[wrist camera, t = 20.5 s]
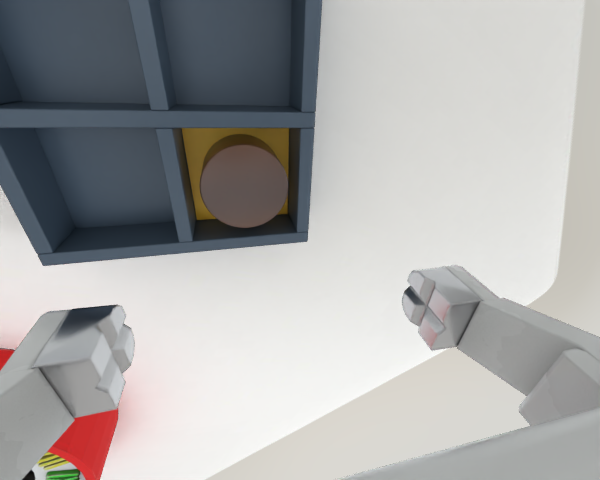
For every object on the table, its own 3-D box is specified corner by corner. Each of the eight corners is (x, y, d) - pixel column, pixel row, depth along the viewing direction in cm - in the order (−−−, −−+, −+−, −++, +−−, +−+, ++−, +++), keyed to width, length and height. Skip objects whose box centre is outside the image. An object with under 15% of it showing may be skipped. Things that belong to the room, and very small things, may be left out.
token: (197, 133, 17) (192, 145, 14) (279, 133, 18) (289, 143, 15) (207, 210, 19) (206, 231, 17) (279, 206, 20) (288, 225, 18)
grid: (-80, -111, 11) (-194, -179, 8) (305, -54, 14) (327, -87, 11) (70, 235, 19) (42, 266, 16) (296, 218, 22) (307, 242, 19)
